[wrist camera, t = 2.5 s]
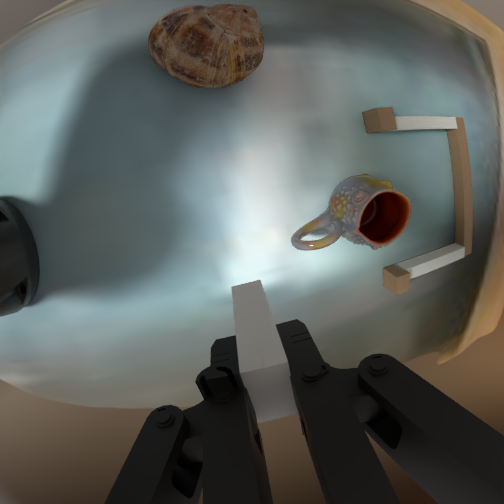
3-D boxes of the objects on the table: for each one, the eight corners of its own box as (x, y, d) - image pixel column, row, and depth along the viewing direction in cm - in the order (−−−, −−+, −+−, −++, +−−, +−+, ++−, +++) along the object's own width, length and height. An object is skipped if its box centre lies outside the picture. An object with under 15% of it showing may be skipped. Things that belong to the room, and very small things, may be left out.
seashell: (243, -2, 20) (269, -12, 13) (255, 66, 27) (283, 85, 20) (145, 20, 19) (129, 18, 13) (165, 88, 26) (158, 114, 20)
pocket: (383, 285, 32) (396, 295, 29) (362, 112, 26) (376, 107, 23) (462, 254, 33) (476, 261, 30) (451, 112, 26) (467, 110, 23)
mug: (372, 167, 28) (408, 170, 21) (385, 224, 30) (419, 239, 23) (272, 200, 28) (287, 210, 21) (292, 260, 30) (310, 286, 23)
